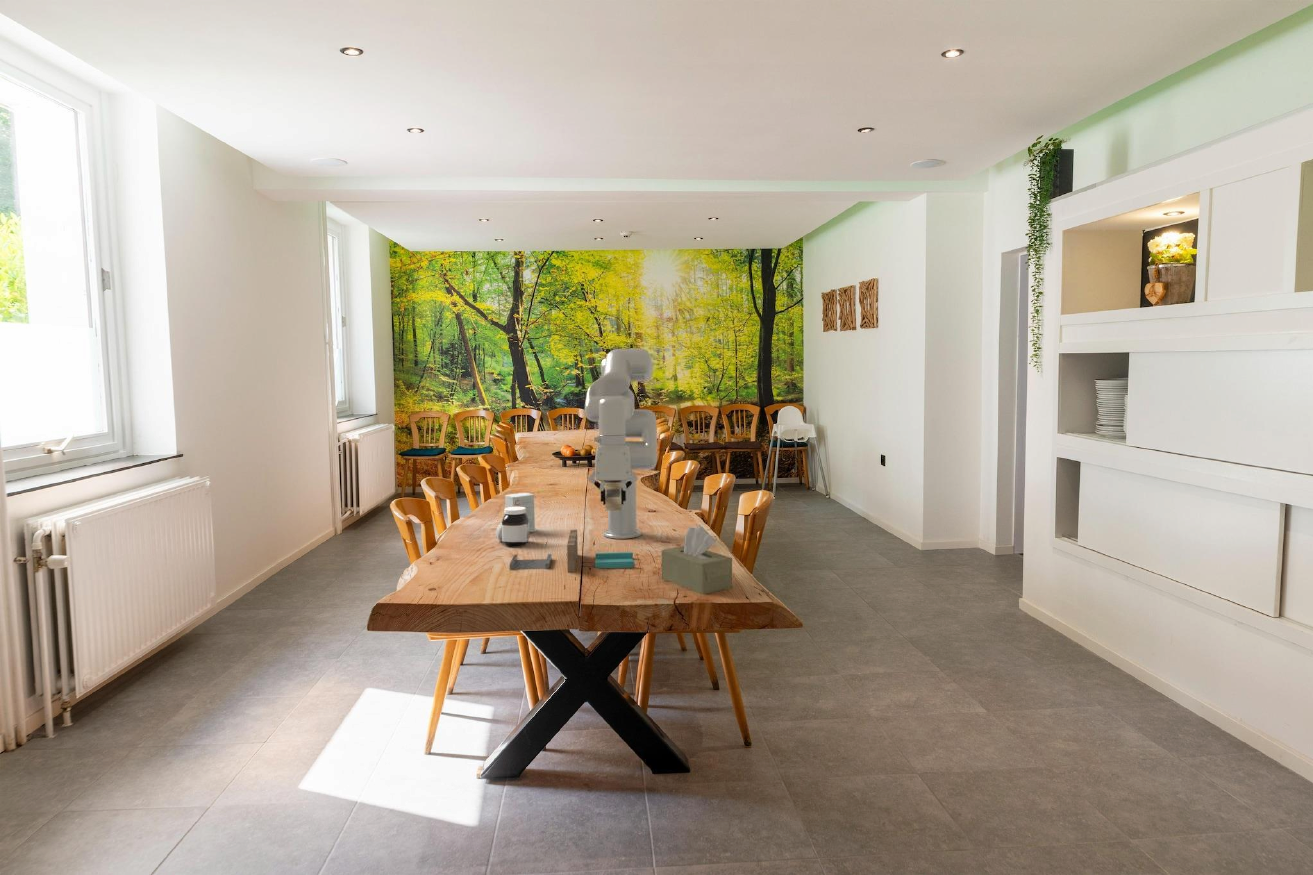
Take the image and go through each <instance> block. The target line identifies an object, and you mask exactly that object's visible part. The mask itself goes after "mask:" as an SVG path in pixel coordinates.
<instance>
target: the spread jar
mask: <svg viewBox="0 0 1313 875" xmlns="http://www.w3.org/2000/svg"><path fill="white" fill-rule="evenodd" d="M503 511H504V515H503V518H502V520H501V523H500V524H499V525H498V526H497V527H496V529H495V534H494V535H495V539H497V540H498V541H500V542H502V543H503V544H504V545H505V546H506V545H508V546H507V547H513V546H515V547H522V546H521V545H523V546H526V545H527V544H529V540H530V532H529V518H528V516H527V514H526V508H525V507H508V508H504V510H503Z"/></svg>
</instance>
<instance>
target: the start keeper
mask: <svg viewBox="0 0 1313 875" xmlns="http://www.w3.org/2000/svg"><path fill="white" fill-rule="evenodd" d="M551 563H552V554H551V553H548V554H547V557H546V559H545V558H542V559H541V558H540V559H539V558H536V559H535V558H534V559H533V558H532V559H519V558H518V554H514V555H513V557H512V559H511V561H510V562H509V570H510V571H512V570H513V571H514V570H517V571H518V570H519V571H520V570H549V569H550V566H551Z"/></svg>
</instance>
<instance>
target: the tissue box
mask: <svg viewBox="0 0 1313 875" xmlns="http://www.w3.org/2000/svg"><path fill="white" fill-rule="evenodd" d="M717 540H718V539H716V538H714V536H712V535H711V534H710V533H709V532H708V531H707V530H706V529H705V527H703V526H702V525H700V524H696V527H695V528H694V527H691V526H690V527H688V528H687V531H686V534H685V537H684V545H682V546H677V547H671V548H670V547H669V548H666V549H665V548H664V549H661V579H662V580H664V579H665V581H667V582H669V581H671V582H670V583H672V584H675V585H678V586H680V585H681V586H680V587H683V586H684V587H683V588H685V587H686V588H685V589H688V588H689V589H688V590H690V591H693V592H696V593H698V594H701V595H705V594H711V593H715V592H720V591H724V590H728V589H732V588H733V557H731V556H727V555H724V554H720V553H717V552H714V551H710V550H709V549H711V548H713V546H714V545H715V544H716V543H717Z"/></svg>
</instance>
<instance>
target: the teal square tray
mask: <svg viewBox="0 0 1313 875" xmlns="http://www.w3.org/2000/svg"><path fill="white" fill-rule="evenodd" d="M634 563H635V561H634V552H633V551H627V552H624V551H623V552H595V561H594V568H596V569H597V568H599V569H628V568H629V569H631V568H632V569H633V568H634V566H635V564H634Z"/></svg>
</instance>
